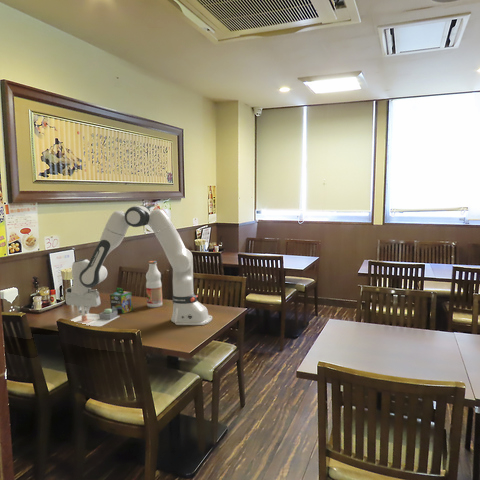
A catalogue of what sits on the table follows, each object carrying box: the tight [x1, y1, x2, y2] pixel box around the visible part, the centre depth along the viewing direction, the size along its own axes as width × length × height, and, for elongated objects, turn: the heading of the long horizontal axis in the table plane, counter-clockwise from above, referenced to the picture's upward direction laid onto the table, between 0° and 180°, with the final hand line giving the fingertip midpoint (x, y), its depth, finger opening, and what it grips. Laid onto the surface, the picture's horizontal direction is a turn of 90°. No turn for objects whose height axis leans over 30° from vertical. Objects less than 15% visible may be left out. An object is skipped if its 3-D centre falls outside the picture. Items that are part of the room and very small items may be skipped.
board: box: [70, 310, 121, 327], centre depth 216 cm, size 24×18×4 cm
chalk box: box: [109, 287, 134, 315], centre depth 230 cm, size 9×9×15 cm
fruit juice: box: [145, 260, 163, 308], centre depth 241 cm, size 9×9×28 cm
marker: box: [81, 306, 87, 321], centre depth 213 cm, size 3×3×10 cm
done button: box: [104, 307, 112, 314], centre depth 218 cm, size 4×4×3 cm
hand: (84, 313), depth 213 cm, fingers closed on marker, 2 cm apart
